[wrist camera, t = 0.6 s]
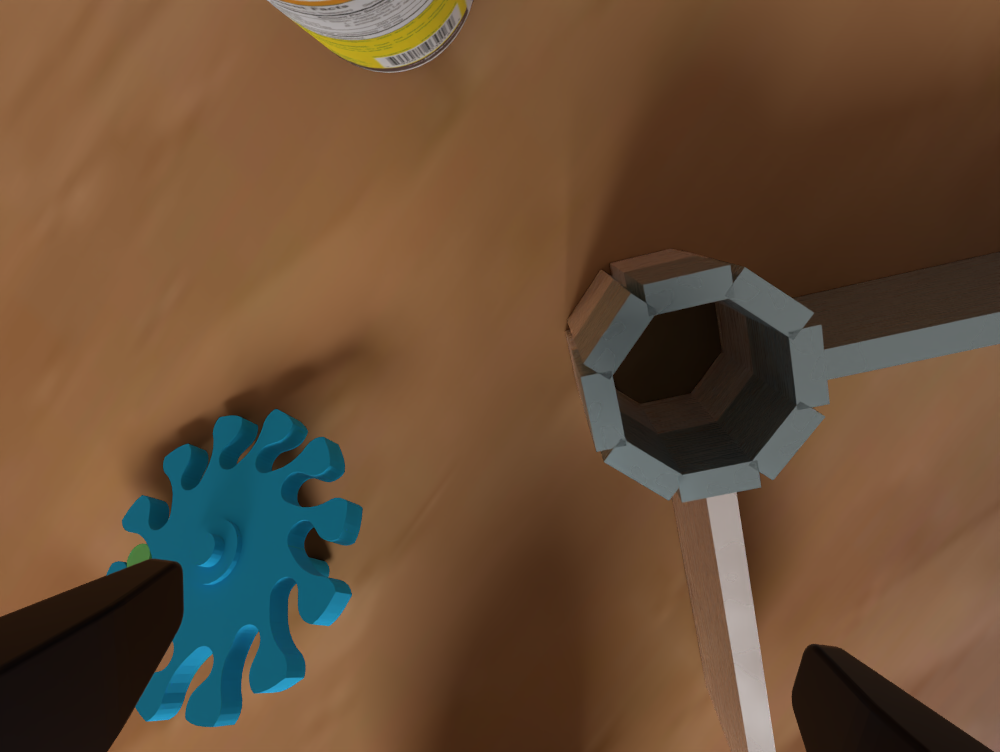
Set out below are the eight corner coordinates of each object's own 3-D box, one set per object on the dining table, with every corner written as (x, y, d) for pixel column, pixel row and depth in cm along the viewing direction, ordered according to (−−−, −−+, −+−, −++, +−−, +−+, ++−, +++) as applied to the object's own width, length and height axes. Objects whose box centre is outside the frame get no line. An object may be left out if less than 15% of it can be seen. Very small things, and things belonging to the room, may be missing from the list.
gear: (334, 365, 20) (336, 702, 15) (420, 426, 25) (442, 695, 20) (90, 453, 23) (26, 759, 18) (210, 491, 28) (185, 740, 23)
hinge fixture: (1103, 622, 23) (1294, 758, 18) (644, 697, 25) (680, 842, 19) (1116, 143, 19) (1379, 114, 13) (553, 276, 21) (564, 303, 15)
